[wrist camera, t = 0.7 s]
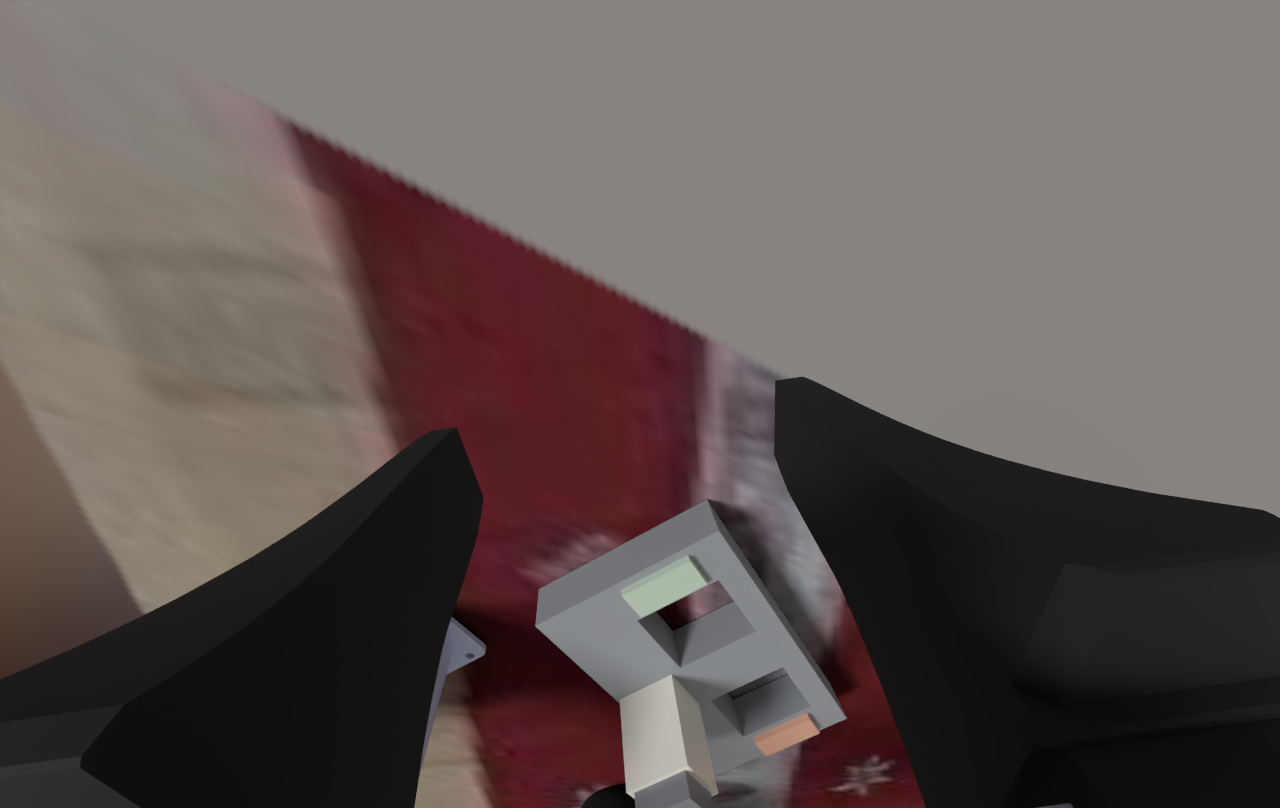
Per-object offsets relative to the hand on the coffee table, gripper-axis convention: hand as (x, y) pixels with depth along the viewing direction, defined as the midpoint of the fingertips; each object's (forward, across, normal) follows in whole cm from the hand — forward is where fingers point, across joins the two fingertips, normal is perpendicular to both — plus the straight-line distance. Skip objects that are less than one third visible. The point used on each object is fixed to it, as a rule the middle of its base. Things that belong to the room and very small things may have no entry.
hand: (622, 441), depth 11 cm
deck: (+10, -2, +23) cm, 25 cm away
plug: (+7, +1, +24) cm, 25 cm away
